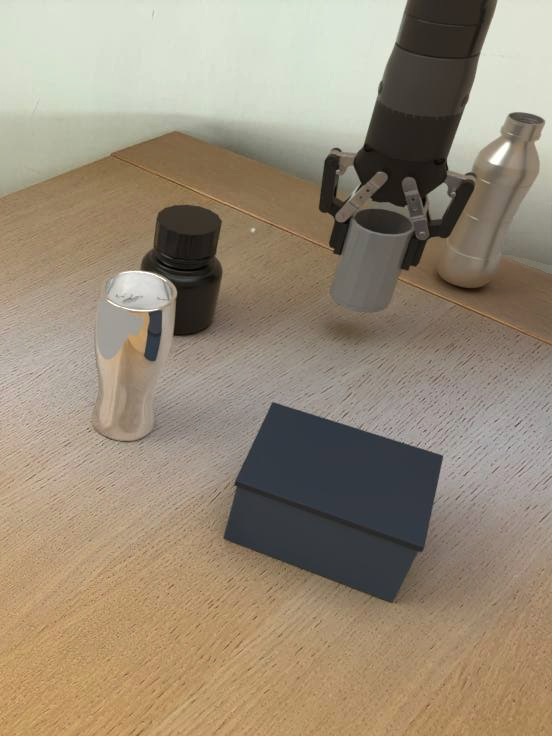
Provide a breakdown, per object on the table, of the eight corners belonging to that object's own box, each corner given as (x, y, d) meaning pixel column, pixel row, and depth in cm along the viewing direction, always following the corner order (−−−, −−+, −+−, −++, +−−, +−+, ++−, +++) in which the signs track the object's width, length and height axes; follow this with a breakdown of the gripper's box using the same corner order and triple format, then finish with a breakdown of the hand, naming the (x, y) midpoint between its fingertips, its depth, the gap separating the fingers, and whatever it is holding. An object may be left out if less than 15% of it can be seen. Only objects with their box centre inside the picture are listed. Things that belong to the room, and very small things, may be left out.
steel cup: (394, 290, 90) (420, 215, 84) (384, 318, 86) (410, 241, 80) (336, 276, 93) (357, 202, 87) (324, 303, 88) (345, 227, 83)
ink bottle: (189, 286, 99) (204, 193, 92) (231, 325, 93) (252, 229, 86) (118, 303, 96) (128, 209, 89) (157, 344, 90) (171, 247, 83)
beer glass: (74, 408, 82) (84, 278, 72) (135, 390, 84) (153, 262, 75) (108, 452, 77) (123, 319, 68) (172, 433, 79) (195, 301, 70)
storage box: (415, 513, 72) (443, 455, 67) (394, 606, 64) (424, 547, 60) (256, 459, 77) (272, 401, 72) (220, 539, 69) (235, 480, 65)
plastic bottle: (474, 301, 97) (546, 136, 84) (420, 278, 101) (481, 116, 88) (499, 282, 101) (572, 120, 88) (446, 260, 104) (508, 102, 92)
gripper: (511, 98, 75) (449, 259, 86) (349, 73, 81) (310, 228, 92) (504, 126, 70) (440, 293, 81) (332, 97, 76) (293, 258, 87)
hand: (371, 258), depth 86 cm, fingers closed on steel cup, 6 cm apart
